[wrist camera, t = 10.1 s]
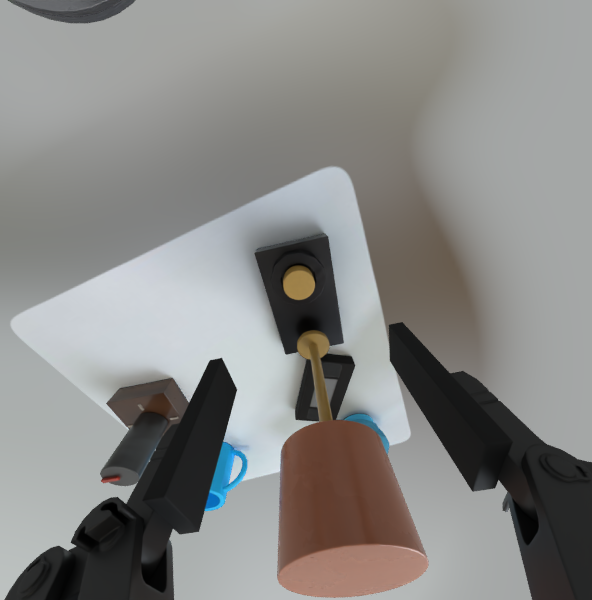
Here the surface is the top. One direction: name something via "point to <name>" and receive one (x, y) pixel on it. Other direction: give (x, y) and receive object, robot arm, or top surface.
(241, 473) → the mug
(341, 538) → the lamp
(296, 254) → the lamp base
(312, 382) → the vhs tape
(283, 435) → the top surface
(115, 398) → the dimmer panel
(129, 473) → the dimmer
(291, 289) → the switch
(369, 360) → the top surface
